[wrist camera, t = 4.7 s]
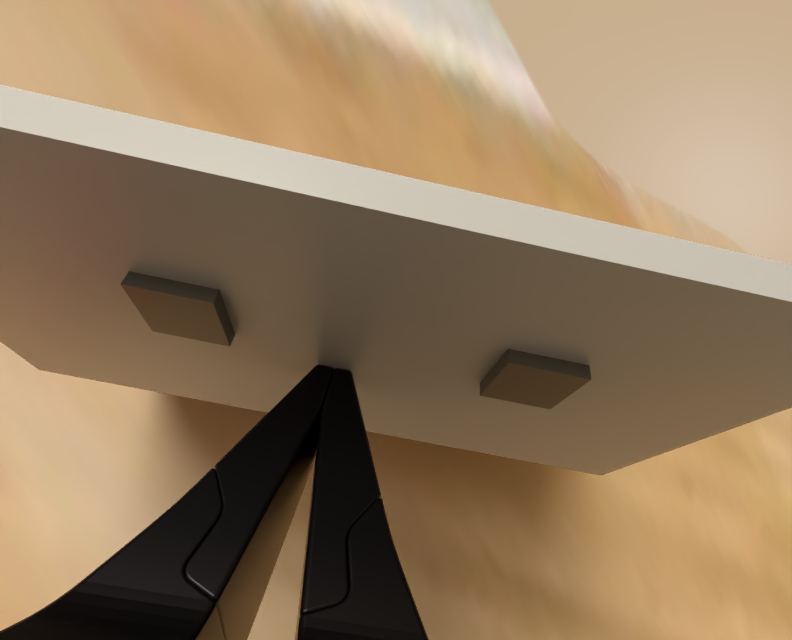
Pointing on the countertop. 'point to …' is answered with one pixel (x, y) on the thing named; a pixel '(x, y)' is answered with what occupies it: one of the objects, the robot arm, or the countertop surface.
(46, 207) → the cover
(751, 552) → the countertop surface
